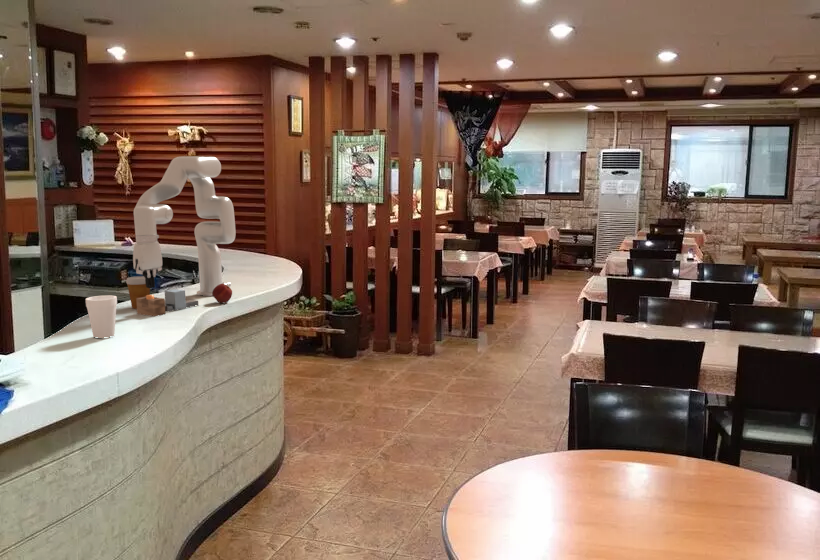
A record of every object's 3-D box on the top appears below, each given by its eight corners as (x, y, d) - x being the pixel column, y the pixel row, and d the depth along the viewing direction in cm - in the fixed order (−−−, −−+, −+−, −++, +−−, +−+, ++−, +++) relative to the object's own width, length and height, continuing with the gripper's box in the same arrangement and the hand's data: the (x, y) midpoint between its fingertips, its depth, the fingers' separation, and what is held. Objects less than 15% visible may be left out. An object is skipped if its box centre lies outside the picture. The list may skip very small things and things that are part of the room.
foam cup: (100, 341, 236) (97, 301, 235) (82, 338, 241) (79, 298, 239) (125, 335, 244) (122, 296, 242) (107, 332, 249) (105, 294, 247)
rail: (191, 304, 299) (191, 299, 299) (198, 305, 297) (198, 300, 296) (160, 310, 286) (160, 305, 286) (167, 311, 284) (167, 306, 284)
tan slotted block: (148, 311, 285) (147, 296, 284) (165, 314, 280) (164, 298, 279) (137, 313, 281) (136, 298, 280) (154, 316, 276) (153, 300, 275)
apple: (227, 304, 298) (226, 285, 296) (209, 304, 299) (208, 284, 298) (235, 301, 305) (234, 282, 303) (217, 301, 306) (216, 282, 305)
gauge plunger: (151, 303, 282) (150, 294, 281) (156, 304, 280) (155, 295, 280) (145, 304, 280) (144, 295, 279) (149, 305, 278) (149, 296, 277)
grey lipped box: (175, 305, 294) (174, 289, 293) (186, 307, 290) (185, 290, 289) (165, 308, 289) (164, 290, 288) (175, 309, 286) (174, 292, 285)
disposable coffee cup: (157, 305, 298) (155, 275, 296) (146, 309, 289) (144, 279, 287) (134, 305, 299) (132, 275, 297) (123, 309, 290) (121, 279, 288)
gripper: (156, 236, 284) (160, 283, 288) (123, 241, 272) (127, 290, 276) (169, 237, 280) (173, 285, 284) (135, 242, 268) (140, 291, 271)
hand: (150, 287), depth 280 cm, fingers closed
